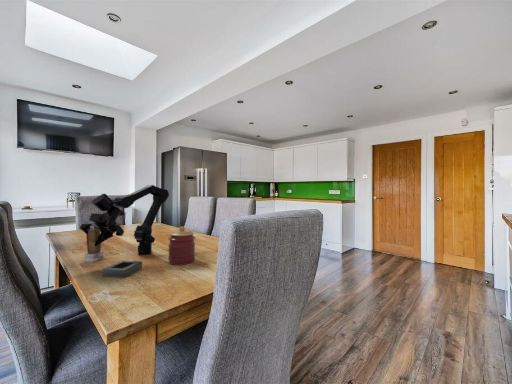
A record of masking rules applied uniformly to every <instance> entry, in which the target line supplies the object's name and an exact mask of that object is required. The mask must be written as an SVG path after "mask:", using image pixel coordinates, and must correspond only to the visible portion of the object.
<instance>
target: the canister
mask: <svg viewBox="0 0 512 384" xmlns="http://www.w3.org/2000/svg"><path fill="white" fill-rule="evenodd" d="M169 235H170V237H168V241H169V244H168V263H169V264H170V265H171V264H172V265H174V266H175V265H177V266H178V265H181V266H182V265H187V264H192V263H194V262H195V260H196V254H195V253H196V243H195V239H196V236H194V232H193V231H192V230H191V229H186V228H185V226H183V225H182V226H180V227H179V229H176V230H173V231H172V232H171V233H170V234H169Z"/></svg>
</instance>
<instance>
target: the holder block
mask: <svg viewBox="0 0 512 384" xmlns="http://www.w3.org/2000/svg"><path fill="white" fill-rule="evenodd" d="M141 269H143V261H138V260H120V261H118V262H116V263H113V264H110V265H107V266H106V267H104V268H102V270H101V271H102V273H101V274H102V277H107V278H108V277H109V278H110V277H111V278H126V277H129V276H130V275H132V274H133V273H136V272H138V271H139V270H141Z"/></svg>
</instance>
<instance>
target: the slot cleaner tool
mask: <svg viewBox="0 0 512 384" xmlns="http://www.w3.org/2000/svg"><path fill="white" fill-rule="evenodd" d="M88 236H89V253H88V252H87V253H85V254H84V262H88V263H89V262H91V263H93V262H96V261H100V260H101V259H104V257H105V255H104V254H105V253H104V251H103V250H101V251H100V244H99V245H97V246H95V245H94V244H95V242H96V241H97V239H98V237H99V236H100V229H90V230H88Z"/></svg>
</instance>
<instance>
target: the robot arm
mask: <svg viewBox="0 0 512 384" xmlns="http://www.w3.org/2000/svg"><path fill="white" fill-rule="evenodd" d="M149 194H150V195H151V196H152V203H151V206H150V207H149V210H148V211H147V214H146V216H145V218H144V221H143V222H142V224H140V225H137V226H136V228H135V230H134V231H133V233H134V234H133V237H134V239H135V240H136V243H138V245H137V255H138V256H143V255H146V256H147V255H152V252H153V243H154V242H155V240H156V238H155V237H154V236H153V235H152V233H153V229H152V226H153V224H154V222H155V220H156V217H157V215H158V214H159V211H160V209H161V206H162V205H163V204H164V203H165V202H166V201H167V199H168V198H169V196H170V193H169V190H167V189H166V188H165V189H164V188H160V187H158V186H156V185H154V184H148V185H146V186H144V187H142V188H139V189H138V190H136V191H133V192H131V193H130V194H124V195H120V196H117V197H114V199H112V198H110V197H109V195H108V194H106V193H101V194H100V195H98V196H96V197H95V198H93V200H92V201H91V204H92V205H93V206H95V207H96V208H97V209H98V210H100V211H101V212H102V213H98V212H97V213H94V212H93V213H90V216H89V219H88V220H89V221H91V222H93V224H94V225H93V224H92V223H85V222H84V223H81V225H80V226H79V229H80V230H81V231H83V233H84V234H85V235H86V234H87V235H88V230H90V229H100V232H101V234H100V236H99V237H98V239H97V241H96V242H95V244H94V245H95V246H97V245H99V244H100V243H103V242H105V241H106V240H109V239H111V238H113V237H114V234H115V236H116V237H122V236H123V235H124V231H125V230H124V229H123V227H122V226H121V224H118V222H117V219H118V218H119V217H122V216H125V214H126V213H125V211H124V209H128V208H130V207H131V206H133V204H134V203H135V202H136V201H137V200H139V199H142V198H143V197H146V196H148V195H149ZM87 245H88V246H89V240H88V244H87V243H86V246H87Z"/></svg>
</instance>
